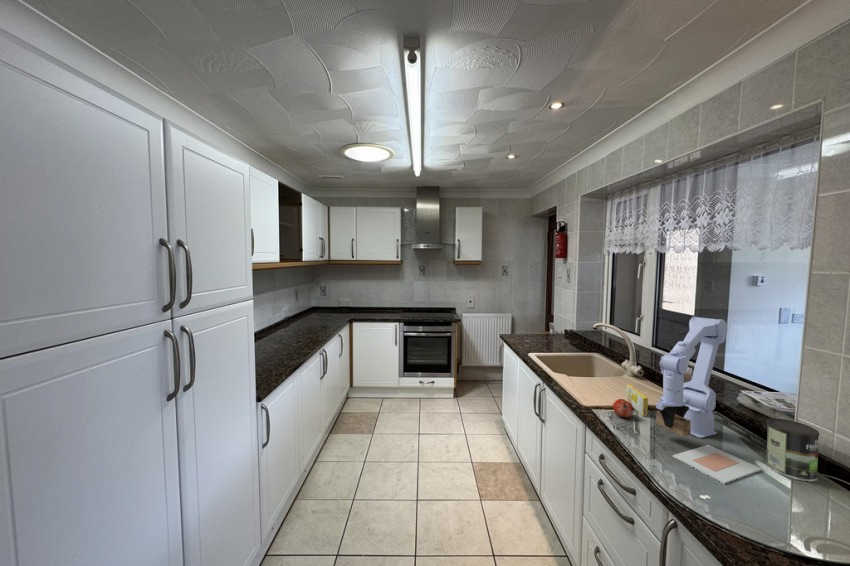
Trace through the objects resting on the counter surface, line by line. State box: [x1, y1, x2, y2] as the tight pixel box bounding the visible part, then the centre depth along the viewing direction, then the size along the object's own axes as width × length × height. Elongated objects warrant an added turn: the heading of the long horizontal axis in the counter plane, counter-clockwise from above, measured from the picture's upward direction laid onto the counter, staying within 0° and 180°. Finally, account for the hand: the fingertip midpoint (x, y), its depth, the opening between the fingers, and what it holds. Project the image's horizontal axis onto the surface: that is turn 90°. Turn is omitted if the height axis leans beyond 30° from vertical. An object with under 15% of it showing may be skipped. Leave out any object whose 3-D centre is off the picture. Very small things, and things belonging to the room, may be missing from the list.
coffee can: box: [766, 417, 820, 483], centre depth 95 cm, size 10×10×14 cm
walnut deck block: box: [655, 410, 692, 438], centre depth 112 cm, size 4×9×5 cm, turn 18°
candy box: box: [625, 383, 649, 418], centre depth 139 cm, size 16×2×8 cm, turn 168°
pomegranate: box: [612, 398, 634, 419], centre depth 132 cm, size 7×7×10 cm
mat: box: [672, 444, 763, 485], centre depth 99 cm, size 18×14×1 cm
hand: (672, 425), depth 112 cm, fingers closed on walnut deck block, 4 cm apart
